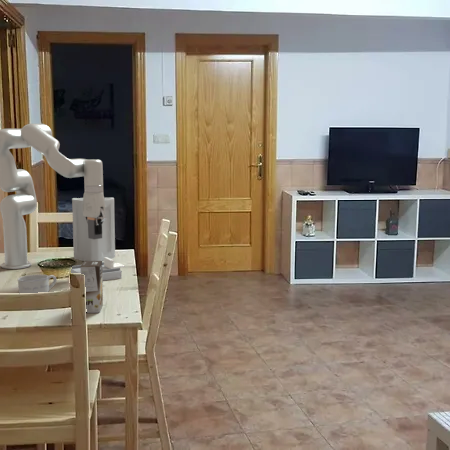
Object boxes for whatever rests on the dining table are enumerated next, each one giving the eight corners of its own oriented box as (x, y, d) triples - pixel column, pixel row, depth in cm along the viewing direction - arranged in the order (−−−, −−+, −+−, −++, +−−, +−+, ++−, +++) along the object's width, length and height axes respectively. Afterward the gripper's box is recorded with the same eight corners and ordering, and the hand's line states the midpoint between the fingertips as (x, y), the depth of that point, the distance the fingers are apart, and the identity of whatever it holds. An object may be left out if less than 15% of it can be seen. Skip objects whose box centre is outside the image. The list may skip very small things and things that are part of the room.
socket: (69, 275, 263) (69, 265, 263) (105, 270, 272) (105, 261, 272) (84, 283, 250) (84, 273, 250) (121, 278, 259) (121, 268, 259)
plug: (96, 236, 265) (95, 215, 264) (102, 238, 263) (101, 216, 261) (88, 238, 262) (87, 216, 261) (94, 239, 259) (93, 217, 258)
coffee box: (100, 313, 212) (99, 266, 209) (81, 313, 211) (79, 266, 208) (103, 305, 221) (102, 260, 218) (84, 305, 220) (83, 260, 217)
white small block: (103, 265, 267) (103, 257, 266) (117, 264, 270) (117, 255, 270) (110, 268, 261) (110, 260, 260) (124, 267, 264) (124, 258, 264)
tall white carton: (73, 263, 286) (71, 202, 281) (74, 256, 300) (72, 198, 295) (116, 261, 290) (115, 201, 285) (114, 255, 304) (113, 197, 299)
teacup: (21, 303, 221) (20, 281, 220) (16, 296, 231) (15, 274, 229) (61, 299, 228) (60, 277, 226) (54, 292, 237) (53, 271, 236)
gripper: (74, 189, 262) (75, 232, 265) (98, 191, 251) (100, 237, 254) (89, 187, 268) (90, 230, 270) (113, 190, 256) (115, 234, 259)
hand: (95, 233), depth 262 cm, fingers closed on plug, 4 cm apart
